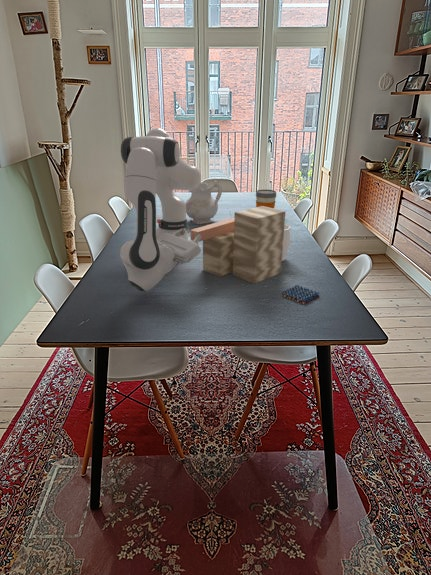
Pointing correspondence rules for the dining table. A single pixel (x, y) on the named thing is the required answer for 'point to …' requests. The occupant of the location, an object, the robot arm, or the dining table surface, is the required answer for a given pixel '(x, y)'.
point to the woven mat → (300, 294)
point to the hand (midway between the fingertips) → (191, 232)
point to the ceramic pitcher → (203, 203)
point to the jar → (286, 241)
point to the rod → (213, 229)
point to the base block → (219, 254)
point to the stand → (258, 243)
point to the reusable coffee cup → (265, 198)
